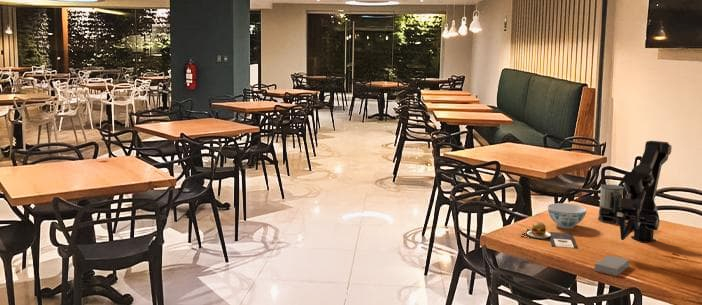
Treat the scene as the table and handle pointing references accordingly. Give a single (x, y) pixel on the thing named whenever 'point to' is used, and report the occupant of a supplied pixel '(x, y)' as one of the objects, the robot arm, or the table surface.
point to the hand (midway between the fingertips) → (622, 239)
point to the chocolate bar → (562, 240)
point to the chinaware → (566, 214)
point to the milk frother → (610, 198)
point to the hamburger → (537, 232)
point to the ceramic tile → (612, 265)
